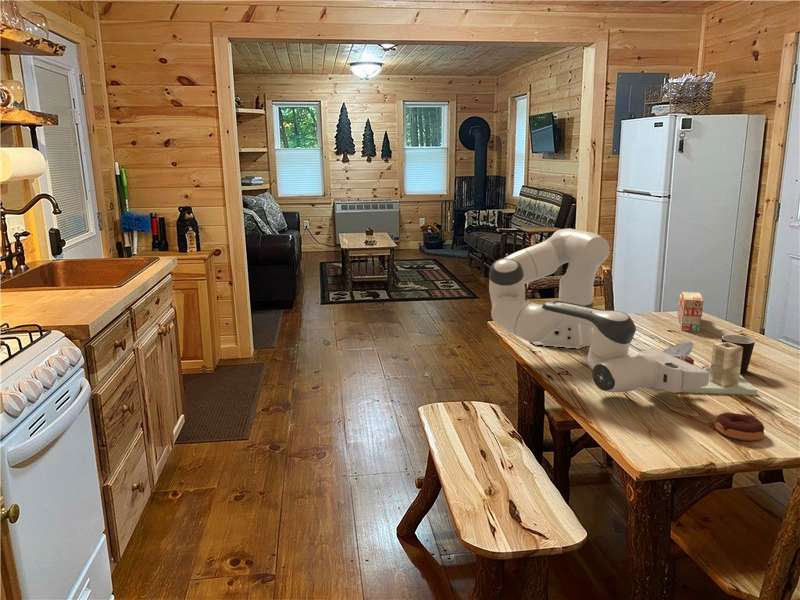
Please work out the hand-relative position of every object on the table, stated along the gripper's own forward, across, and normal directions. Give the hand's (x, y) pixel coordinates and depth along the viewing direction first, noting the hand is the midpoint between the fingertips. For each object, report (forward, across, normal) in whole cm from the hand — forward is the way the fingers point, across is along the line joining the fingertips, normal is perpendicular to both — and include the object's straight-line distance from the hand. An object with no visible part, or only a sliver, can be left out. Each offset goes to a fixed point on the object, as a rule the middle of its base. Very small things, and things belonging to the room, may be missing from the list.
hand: (695, 363), depth 158 cm
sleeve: (+10, 0, -7) cm, 13 cm away
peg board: (+8, -4, -8) cm, 12 cm away
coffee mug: (+25, -11, -9) cm, 29 cm away
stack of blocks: (+48, -55, -9) cm, 74 cm away
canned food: (+10, -18, -9) cm, 22 cm away
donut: (-8, +22, -9) cm, 25 cm away
